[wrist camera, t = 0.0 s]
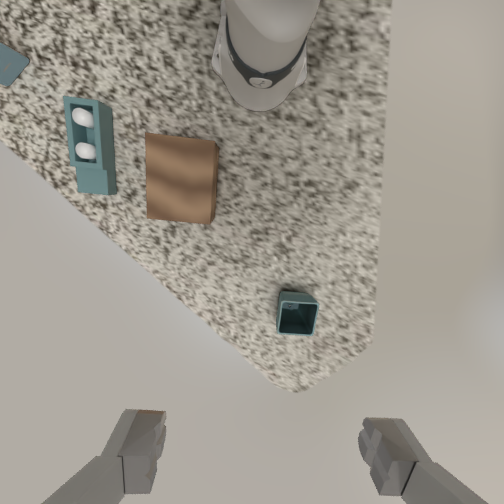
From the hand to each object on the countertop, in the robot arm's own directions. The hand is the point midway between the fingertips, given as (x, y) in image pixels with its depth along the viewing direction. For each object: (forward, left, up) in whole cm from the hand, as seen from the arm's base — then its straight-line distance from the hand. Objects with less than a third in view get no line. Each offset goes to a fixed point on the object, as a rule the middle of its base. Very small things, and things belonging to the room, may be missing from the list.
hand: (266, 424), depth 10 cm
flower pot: (+19, +14, -49) cm, 54 cm away
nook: (-8, -13, -48) cm, 51 cm away
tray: (-15, -32, -48) cm, 60 cm away
